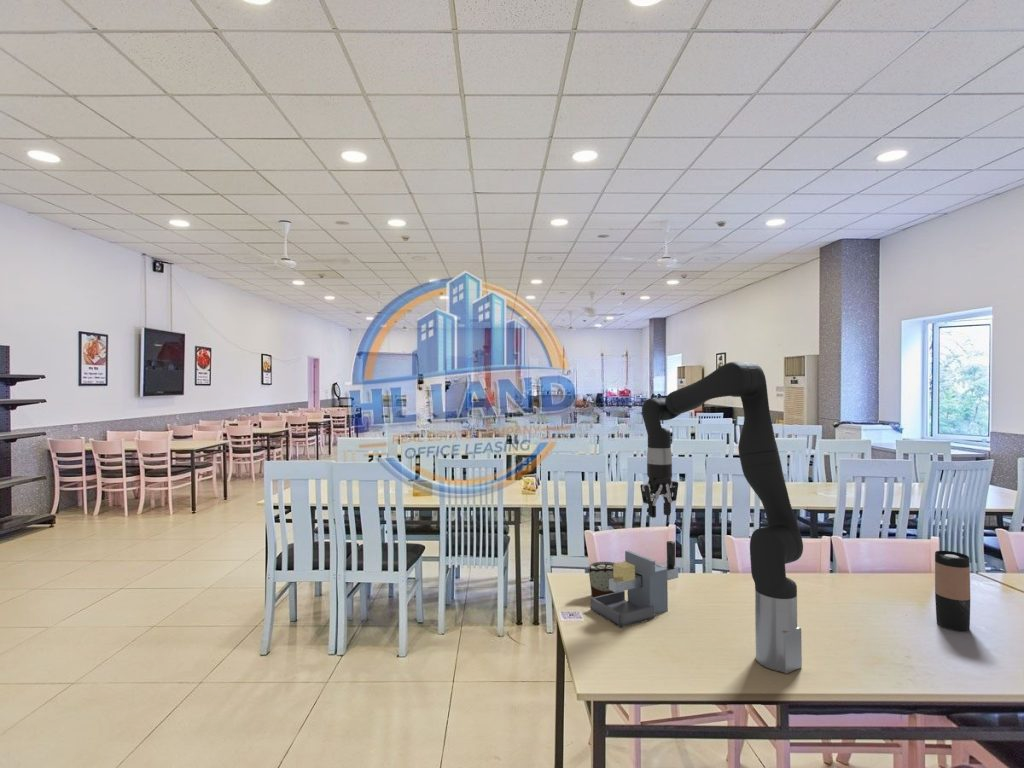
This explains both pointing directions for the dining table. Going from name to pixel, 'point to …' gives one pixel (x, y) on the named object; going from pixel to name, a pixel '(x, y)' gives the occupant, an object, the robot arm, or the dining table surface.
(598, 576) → the food container
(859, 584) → the dining table surface
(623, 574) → the block
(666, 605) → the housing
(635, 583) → the grey lever black handle
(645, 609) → the tray
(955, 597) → the travel mug
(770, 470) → the robot arm
